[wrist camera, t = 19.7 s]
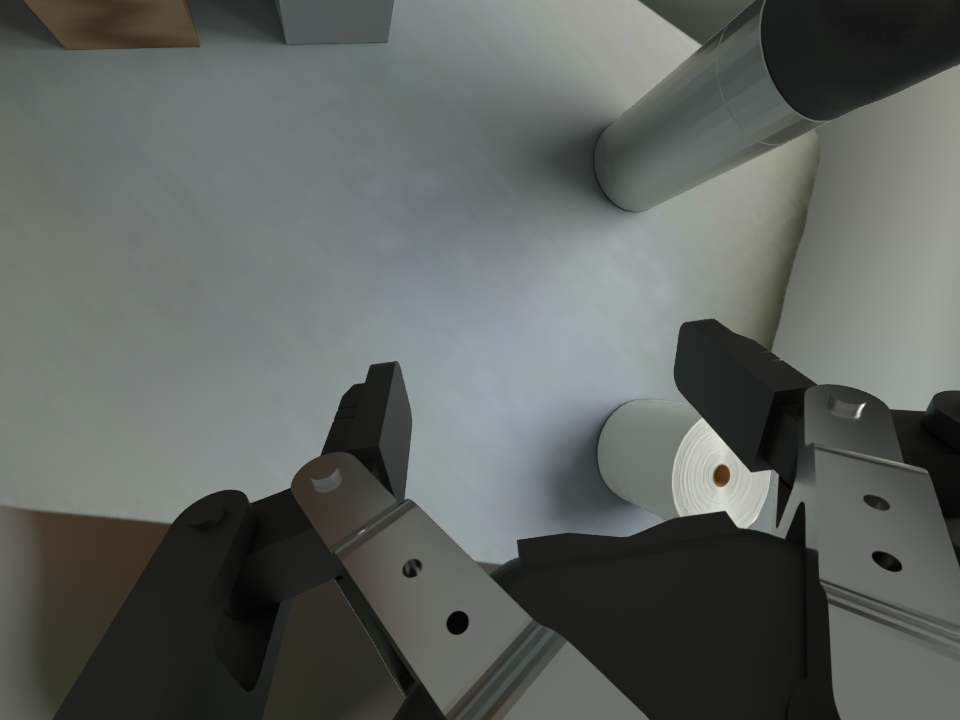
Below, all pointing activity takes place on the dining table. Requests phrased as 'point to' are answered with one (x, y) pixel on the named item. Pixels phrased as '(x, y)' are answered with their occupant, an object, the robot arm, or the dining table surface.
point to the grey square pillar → (335, 21)
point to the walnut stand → (117, 23)
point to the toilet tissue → (676, 464)
